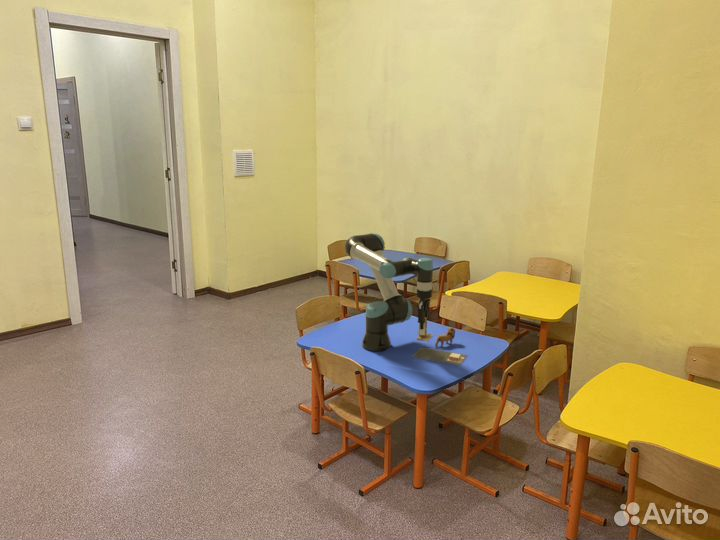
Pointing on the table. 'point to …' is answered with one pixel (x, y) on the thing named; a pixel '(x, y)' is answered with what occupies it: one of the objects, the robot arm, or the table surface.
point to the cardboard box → (426, 336)
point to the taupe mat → (438, 356)
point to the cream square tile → (455, 357)
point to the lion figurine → (446, 337)
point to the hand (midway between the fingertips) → (423, 333)
